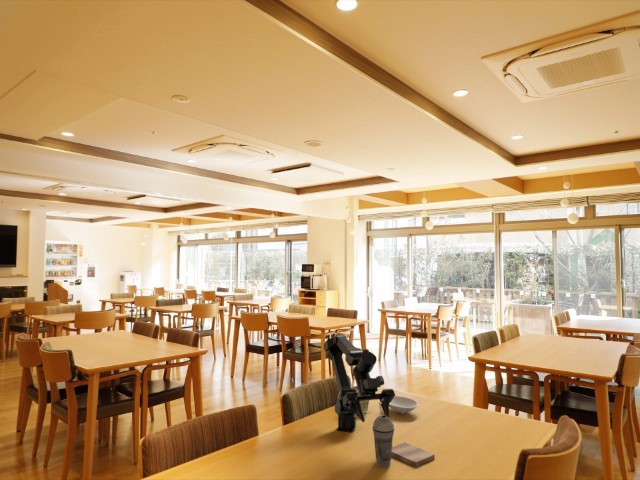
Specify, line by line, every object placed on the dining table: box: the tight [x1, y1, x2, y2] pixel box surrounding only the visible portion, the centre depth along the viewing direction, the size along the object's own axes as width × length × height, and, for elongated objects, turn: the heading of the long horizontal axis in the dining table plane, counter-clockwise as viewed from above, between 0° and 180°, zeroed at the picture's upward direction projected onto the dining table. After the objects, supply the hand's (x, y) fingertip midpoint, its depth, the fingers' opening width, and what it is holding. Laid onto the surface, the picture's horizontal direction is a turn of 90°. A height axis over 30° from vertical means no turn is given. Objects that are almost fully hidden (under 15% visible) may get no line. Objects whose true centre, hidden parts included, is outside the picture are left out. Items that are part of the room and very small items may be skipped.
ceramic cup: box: [350, 385, 370, 414], centre depth 197 cm, size 13×10×10 cm
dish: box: [389, 395, 420, 414], centre depth 195 cm, size 18×14×5 cm
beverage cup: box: [372, 401, 395, 468], centre depth 143 cm, size 7×7×20 cm
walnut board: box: [391, 441, 436, 468], centre depth 149 cm, size 13×10×2 cm
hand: (376, 420), depth 149 cm, fingers open, 9 cm apart
